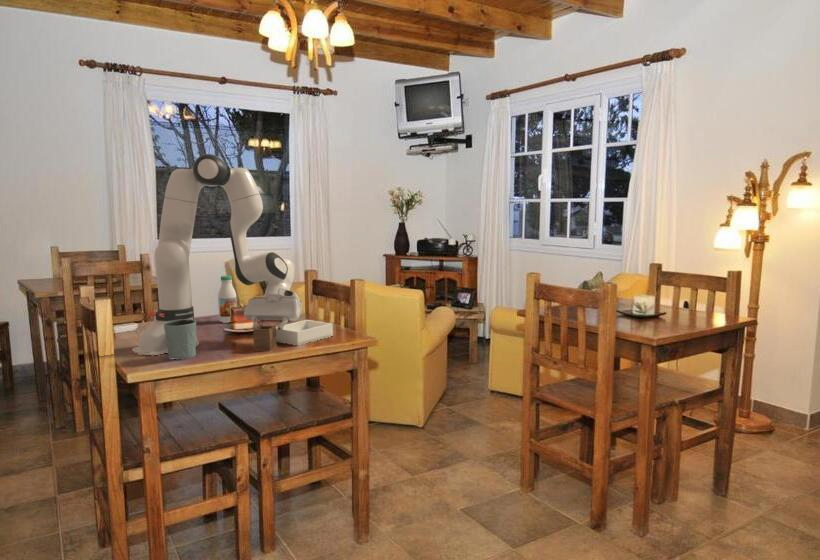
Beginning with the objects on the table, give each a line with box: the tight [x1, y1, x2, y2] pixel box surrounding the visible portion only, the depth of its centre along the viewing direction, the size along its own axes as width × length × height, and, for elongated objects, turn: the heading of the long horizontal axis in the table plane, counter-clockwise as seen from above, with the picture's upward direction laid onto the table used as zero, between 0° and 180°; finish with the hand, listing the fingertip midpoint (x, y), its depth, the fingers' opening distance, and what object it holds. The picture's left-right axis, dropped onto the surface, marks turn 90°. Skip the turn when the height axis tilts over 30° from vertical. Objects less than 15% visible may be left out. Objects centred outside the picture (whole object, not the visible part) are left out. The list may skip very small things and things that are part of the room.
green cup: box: [164, 319, 197, 359], centre depth 201 cm, size 10×10×12 cm
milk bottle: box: [217, 275, 238, 324], centre depth 259 cm, size 8×8×20 cm
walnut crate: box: [252, 325, 278, 351], centre depth 212 cm, size 6×6×8 cm
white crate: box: [276, 319, 334, 347], centre depth 226 cm, size 18×14×5 cm
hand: (267, 328), depth 214 cm, fingers open, 8 cm apart
